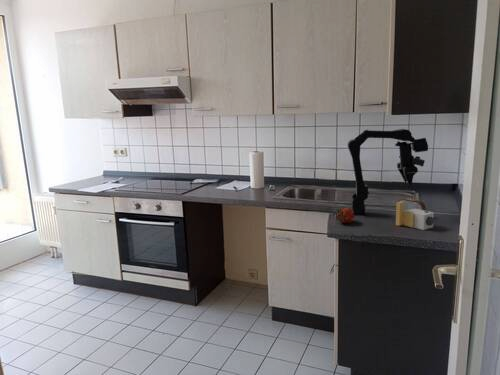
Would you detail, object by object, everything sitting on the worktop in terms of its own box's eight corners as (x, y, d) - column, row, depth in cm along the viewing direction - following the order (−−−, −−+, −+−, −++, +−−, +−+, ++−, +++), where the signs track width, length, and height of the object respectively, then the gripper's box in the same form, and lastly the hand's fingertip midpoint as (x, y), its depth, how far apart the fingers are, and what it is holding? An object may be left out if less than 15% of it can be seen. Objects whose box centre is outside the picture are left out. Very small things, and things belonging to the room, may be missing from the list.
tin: (425, 217, 196) (426, 200, 194) (422, 218, 194) (423, 201, 192) (399, 211, 208) (400, 196, 206) (396, 212, 206) (396, 197, 204)
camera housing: (404, 224, 184) (405, 209, 183) (414, 222, 188) (415, 207, 186) (425, 230, 175) (426, 214, 173) (435, 227, 178) (436, 211, 177)
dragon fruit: (337, 228, 188) (349, 226, 197) (350, 220, 183) (362, 218, 192) (329, 213, 191) (341, 211, 200) (342, 204, 186) (354, 203, 194)
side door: (395, 224, 184) (396, 202, 182) (400, 223, 186) (401, 201, 184) (408, 228, 178) (409, 205, 176) (413, 227, 180) (414, 204, 177)
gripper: (427, 153, 186) (429, 185, 189) (417, 149, 204) (419, 178, 207) (403, 156, 188) (406, 187, 191) (395, 152, 207) (397, 181, 209)
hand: (408, 183), depth 200 cm, fingers open, 9 cm apart
